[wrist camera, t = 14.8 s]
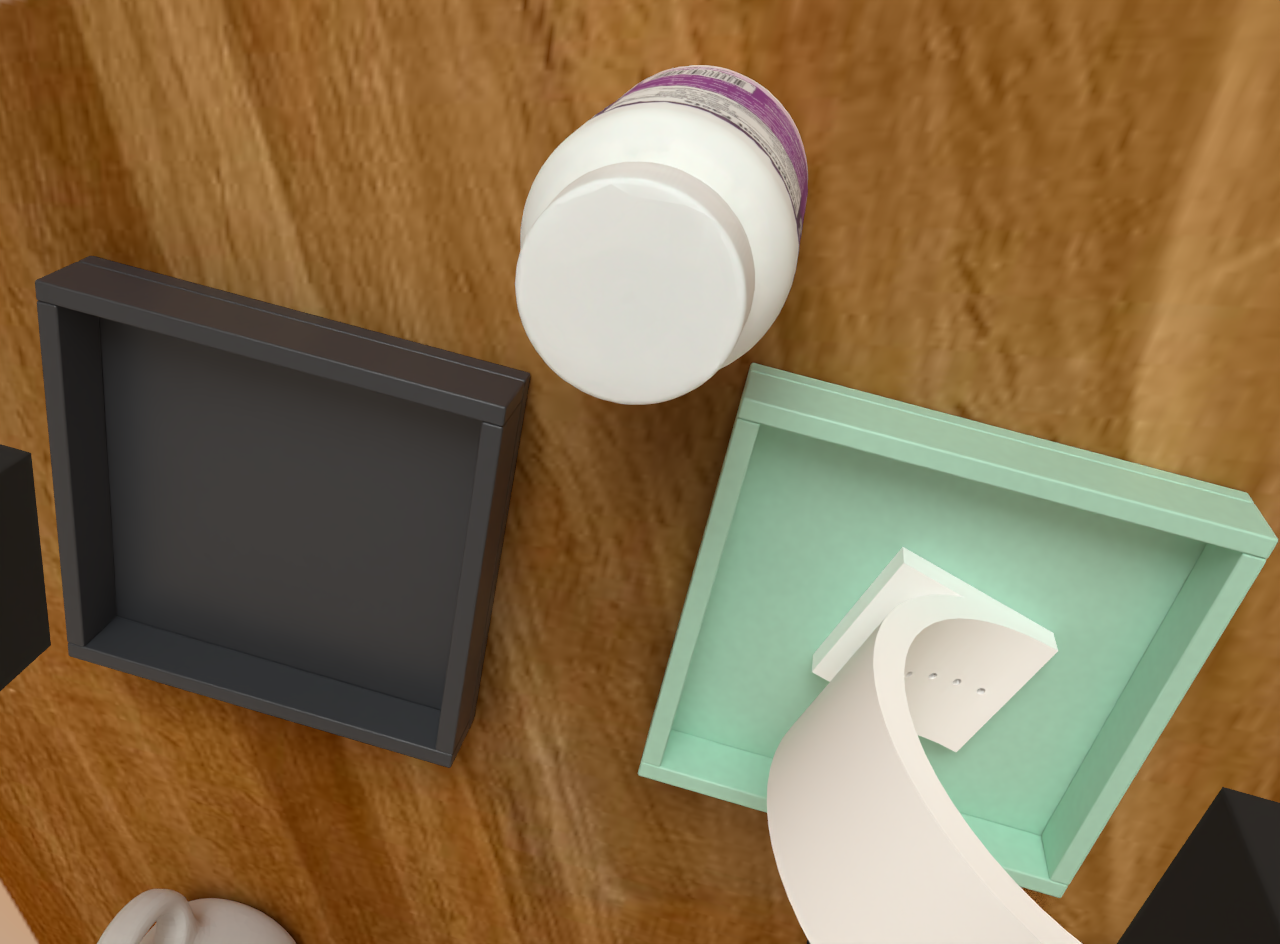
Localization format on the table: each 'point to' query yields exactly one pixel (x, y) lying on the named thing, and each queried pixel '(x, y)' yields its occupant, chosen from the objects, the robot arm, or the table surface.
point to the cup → (191, 922)
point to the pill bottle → (663, 235)
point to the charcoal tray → (276, 503)
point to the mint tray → (978, 555)
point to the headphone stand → (902, 769)
